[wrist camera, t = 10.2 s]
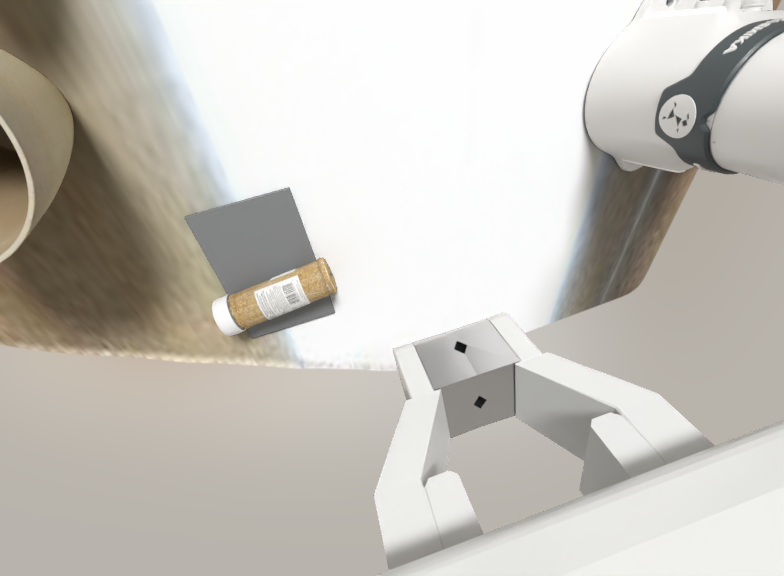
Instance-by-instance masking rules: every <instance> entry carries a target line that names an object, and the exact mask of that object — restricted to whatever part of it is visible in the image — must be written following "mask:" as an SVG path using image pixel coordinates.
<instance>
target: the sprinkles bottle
mask: <svg viewBox="0 0 784 576" xmlns="http://www.w3.org/2000/svg"><path fill="white" fill-rule="evenodd" d="M336 293H337V287H336V283H335V279H334V277H333V274H332V272H331V270H330V268H329V266H328V264H327V262H326V261H325V259H323V258H319V259H318V260H317V261H314V262H312V263H309V264H307V265H304V266H302V267H300V268H296V269H293V270H290V271H288V272H285V273H283V274H280V275H278V276H275V277H273V278H271V279H270V280H267V281H265V282H262V283H260V284H257V285H255V286H252V287H250V288H247V289H245V290H242V291H240V292H238V293H235V294H231V295H229V294H228V295H225V296H223V297H221V298H218V299H216V300H215V301H214V302H213V304H212V312H213V316H214V319H215V321H216V324H217V325H218V327H219V328H220V330H221V331H222V332H223V333H224V334H225V335H227V336H233V335H236V334H238V333H241V332H243V331H245V330H246V329H248V328H249V327H252V326H254V325H257V324H259V323H262V322H264V321H267V320H270V319H273V318H275V317H278V316H280V315H283V314H285V313H288V312H290V311H293V310H295V309H298V308H300V307H303V306H305V305H308V304H310V303H312V302H314V301H316V300H318V299H321V298H324V297H326V296H328V295H331V294H336Z"/></svg>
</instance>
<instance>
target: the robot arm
mask: <svg viewBox="0 0 784 576" xmlns="http://www.w3.org/2000/svg"><path fill="white" fill-rule="evenodd" d="M666 1H667V0H644V1H643V3H642V4H641V6H640V8H639V10H638V12H637V13H636V15H635V17H634V19H633V20H632V22H631V23H630V24H629V25H628V26H627V28H626V29H625V30H624V31H623V32H622V33H621V34H620V35H619V36H618V37H617V38H616V39H615V40H614V41H613V42H612V44H611V45H610V46H609V48H608V49H607V50H606V52H605V53H604V55H603V56H602V58H601V60H600V61H599V63H598V65H597V67H596V69H595V71H594V74H593V76H592V78H591V81H590V84H589V88H588V91H587V96H586V102H585V122H586V127H587V131H588V134H589V136H590V138H591V140H592V141H593V143H594V144H595V145H596V146H597V147H598V148H599V149H601V150H602V151H604V152H606V153H608V154H610V155H612V156H613V157H614V158H615V160H616V162H617V164H618V165H619V167H620V168H621V169H622V170H625V171H634V170H637V169H639V168H641V167H643V166H648V167H653V168H657V169H662V170H666V171H671V172H676V173H681V172H684V171H685V170H687V169H690V168H693V167H697V168H700V169H702V170H705V171H709V172H714V173H715V172H717V173H723V174H737V173H741V174H745V175H749V176H752V177H756V178H760V179H764V180H767V181H771V182H775V183H779V184H782V185H784V11H783V10H781V11H773V3H772V0H668V2H667V4H666ZM393 354H394V357H395V361H396V365H397V369H398V372H399V376H400V380H401V383H402V386H403V390H404V393H405V396H406V401H405V402H404V405H403V408H402V411H401V414H400V418H399V420H398V424H397V427H396V430H395V433H394V436H393V439H392V442H391V445H390V448H389V451H388V454H387V457H386V460H385V463H384V466H383V470H382V472H381V475H380V479H379V482H378V485H377V488H376V491H375V494H374V498H375V503H376V508H377V513H378V518H379V523H380V527H381V533H382V537H383V543H384V547H385V553H386V558H387V563H388V568H389V570H388V571H386V572H383V573H380V574H378V575H375V576H784V420H782V421H780V422H777V423H774V424H772V425H769V426H767V427H764V428H761V429H759V430H756V431H753V432H751V433H748V434H746V435H743V436H740V437H738V438H735V439H732V440H730V441H727V442H725V443H722V444H719V445H717V446H715V445H714V444H712V443H711V442H710V441H709V440H708V439H707V438H706V437H705V436H704V435H703V434H702V433H700V432H699V431H698V430H697V429H696V428H695V427H694V426H693V425H692V424H691V423H689V422H688V421H687V420H686V419H685V418H684V417H683V416H682V415H681V414H680V413H679V412H678V411H676V410H675V409H674V408H673V407H672V406H671V405H670V404H669V403H668V402H667V401H666V400H664V399H663V398H662V397H661V396H660V395H659V394H658V393H655V392H652V391H650V390H647V389H644V388H642V387H639V386H636V385H634V384H631V383H629V382H626V381H623V380H620V379H618V378H615V377H613V376H610V375H607V374H605V373H602V372H600V371H597V370H594V369H592V368H589V367H586V366H583V365H581V364H578V363H576V362H573V361H570V360H568V359H565V358H562V357H560V356H557V355H554V354H552V353H549V352H548V353H544V354H542V353H541V351H540V350H539V349H538V348H537V347H536V346H535V344H533V342H532V341H531V340H530V339H529V338H528V336H527V335H526V334H525V333H524V332H523V331H522V329H521V328H520V327H519V326H518V325H517V324H516V323H515V321H514V320H513V319H512V318H511V317H510V316H509V314H507V313H505V312H504V313H501V314H498V315H495V316H492V317H489V318H487V319H486V320H485V319H484V320H481V321H478V322H475V323H472V324H469V325H466V326H463V327H460V328H457V329H454V330H451V331H449V332H446V333H442V334H439V335H436V336H432V337H429V338H426V339H422V340H419V341H415V342H412V343H411V344H407V345H404V346H400V347H397V348H393ZM515 415H516V418H518V419H519V420H521V421H522V422H524V423H526V424H527V425H529V426H530V427H532V428H533V429H535V430H537V431H538V432H540V433H541V434H543V435H544V436H546V437H548V438H549V439H551V440H552V441H554V442H555V443H557V444H558V445H560V446H562V447H563V448H565V449H566V450H568V451H570V452H571V453H572V454H574V455H576V456H577V457H579V458H581V459H582V460H584V466H583V472H582V478H581V483H580V491H581V493H582V494H583V497H580V498H577V499H575V500H572V501H570V502H567V503H564V504H562V505H559V506H556V507H554V508H551V509H549V510H546V511H543V512H541V513H538V514H535V515H533V516H530V517H527V518H525V519H522V520H520V521H517V522H514V523H512V524H509V525H506V526H504V527H501V528H498V529H496V530H493V531H491V532H488V533H485V534H483V532H482V529H481V527H480V525H479V522H478V520H477V518H476V515H475V513H474V510H473V508H472V506H471V503H470V501H469V499H468V496H467V494H466V492H465V489H464V487H463V485H462V482H461V480H460V477H459V475H458V474H456V473H453V472H451V471H446V469H447V463H448V457H449V449H450V443H451V439H450V438H453V437H455V436H458V435H461V434H463V433H466V432H468V431H471V430H473V429H476V428H479V427H481V426H484V425H487V424H491V423H494V422H497V421H500V420H503V419H506V418H509V417H512V416H515Z"/></svg>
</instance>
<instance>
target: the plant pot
mask: <svg viewBox="0 0 784 576" xmlns="http://www.w3.org/2000/svg"><path fill="white" fill-rule="evenodd" d="M73 138H74V124H73V117H72V113H71V110H70V107H69V105H68V103H67V101H66V100H65V98H64V97H63V95H62V94H61V92H60V91H59V90H58V89H57V88H56V87H55V85H54V84H53V83H52V82H50V81H49V80H48V79H47V78H46V77H45V76H43V75H42V74H41V73H39V72H38V71H37V70H35V69H34V68H32V67H31V66H29V65H28V64H26V63H24V62H23V61H21V60H19V59H18V58H16V57H14V56H13V55H11V54H9V53H7V52H6V51H4V50H2V49H0V263H2V262H3V261H4V260H6V259H7V258H9V257H10V256H11V255H12V254H13V253H14V252H15V251H16V250H17V249H18V248H19V247H20V245H21V244H22V243H23V242H24V240H25V239H26V238H27V237H28V235H29V234H30V233H31V231H32V230H33V229H34V227H35V226H36V224H37V223H38V222H39V220H40V219H41V218H42V216H43V215H44V213H45V212H46V211H47V209H48V208H49V206H50V204H51V202H52V201H53V199H54V197H55V195H56V193H57V191H58V190H59V188H60V185H61V183H62V181H63V178H64V176H65V173H66V170H67V167H68V164H69V161H70V157H71V153H72V148H73Z"/></svg>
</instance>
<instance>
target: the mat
mask: <svg viewBox="0 0 784 576" xmlns="http://www.w3.org/2000/svg"><path fill="white" fill-rule="evenodd" d="M185 220H186V222H187V224H188V225H189V227H190V229H191V231H192V232H193V234H194V236H195V238H196V240H197V241H198V243H199V245H200V247H201V248H202V250H203V252H204V254H205V256H206V257H207V259H208V261H209V263H210V264H211V266H212V268H213V270H214V272H215V273H216V275H217V277H218V279H219V280H220V282H221V284H222V286H223V288H224V289H225V291H226V293H227V295H228V294H229V295H231V294H235V293H238V292H240V291H242V290H245V289H247V288H250V287H252V286H255V285H257V284H260V283H262V282H265V281H267V280H270V279H271V278H273V277H275V276H278V275H280V274H283V273H285V272H288V271H290V270H293V269H296V268H300V267H302V266H304V265H307V264H309V263H312V262H314V261H316V258H315V256H314V253H313V250H312V248H311V245H310V242H309V239H308V237H307V234H306V231H305V229H304V226H303V223H302V220H301V218H300V215H299V212H298V210H297V207H296V204H295V201H294V199H293V196H292V193H291V191H290V188H289V187H288V188H285V189H281V190H278V191H274V192H271V193H267V194H263V195H260V196H256V197H253V198H249V199H245V200H242V201H238V202H235V203H231V204H228V205H224V206H220V207H217V208H213V209H210V210H206V211H202V212H199V213H195V214H192V215H188V216H185ZM332 313H335V310H334V307H333V305H332V302H331V299H330V296H329V295H328V296H326V297H324V298H321V299H318V300H316V301H314V302H312V303H310V304H308V305H305V306H303V307H300V308H298V309H295V310H293V311H290V312H288V313H285V314H283V315H280V316H278V317H275V318H273V319H270V320H267V321H264V322H262V323H259V324H257V325H254V326H252V327H249V328H248V329H247V330H248V332H249V334H250V336H251V337H252V338H255V337H258V336H261V335H265V334H268V333H271V332H274V331H277V330H281V329H284V328H287V327H290V326H293V325H297V324H300V323H303V322H306V321H309V320H313V319H316V318H319V317H322V316H325V315H329V314H332Z"/></svg>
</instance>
